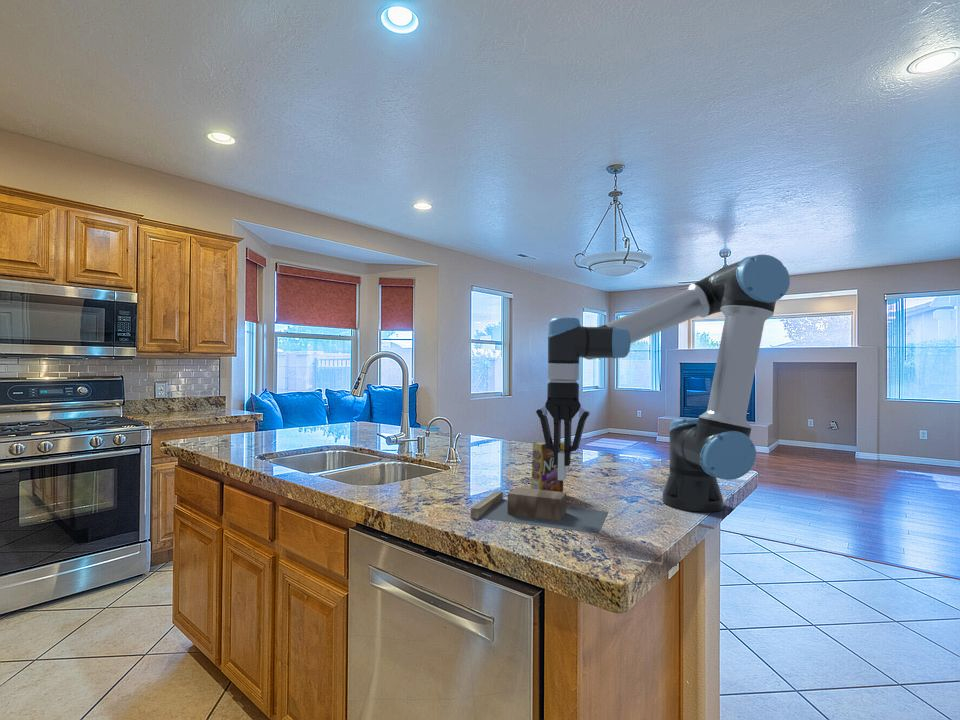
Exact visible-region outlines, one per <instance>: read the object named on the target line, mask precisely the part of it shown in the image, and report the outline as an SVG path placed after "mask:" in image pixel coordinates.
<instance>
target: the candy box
mask: <svg viewBox="0 0 960 720" xmlns="http://www.w3.org/2000/svg"><path fill="white" fill-rule="evenodd" d="M552 441H553V444H554V440H552ZM560 448H561V450H560V451H564V441H561V447H560ZM531 459H532V461H531V462H532V463H531V479H530V481H531V482H530V484H531V486H530V487H531V488H530V489H538V490H547V491H557V492H564V481H562V480H558V465H554V452H553V451H552V450H550V449H547V448H546V443H545V441H539V442H538V441H536V442H532V458H531Z"/></svg>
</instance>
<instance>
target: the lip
mask: <svg viewBox="0 0 960 720" xmlns="http://www.w3.org/2000/svg"><path fill="white" fill-rule="evenodd" d="M502 499H504V491H502V490H495V491H493V492H492V493H491V494H489V495H487V496H486V497H485V498H483V499H482V500H481V501H479V502H477V503H476V504H474V505H473V506H471V507H470V519H474V520H475V519H476V520H479V519H478V517H480V516H481V515H482V514H484V513H485V512H486V511H488V510H489V509H490V508H492V507H493V506H494V505H495V504H497V503H498V502H499V501H501V500H502Z"/></svg>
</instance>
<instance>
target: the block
mask: <svg viewBox="0 0 960 720" xmlns="http://www.w3.org/2000/svg"><path fill="white" fill-rule="evenodd" d="M507 500H508V511H507V514H511V515H519V516H527V517H534V518H542V519H550V520H557V521H560V520H561V519H562V518H563V516H564V515H565V514H566V507H567V492H564V491H563V492H557V491H547V490H538V489H531V488H528V487H518V486H516V487H514V488H513V489H512V490H511V491H509V492H507Z"/></svg>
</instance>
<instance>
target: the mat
mask: <svg viewBox="0 0 960 720" xmlns="http://www.w3.org/2000/svg"><path fill="white" fill-rule="evenodd" d="M507 511H508V498H503V499H502V500H501V501H499V502H498V503H497V504H495V505H494V506H493V507H492V508H490V509H489V510H488V511H486V512H485V513H484V514H482V515H481V516H480V517H478V519H477V520H482V519H486V520H494V521H501V522H509V523H514V524H521V525H522V524H523V525H529V526H537V527H542V528H543V527H545V528H552V529H558V530H567V531H572V532H573V531H575V532H581V533H589V534H593V535H594V534H595V535H598V534H599V533H600V532H601V529H602V527H603V525H604V523H605V520H606V518H607V515H608V513H609V511H606V510H599V509H591V508H590V509H589V508H582V507H581V508H580V507H574V506H573V507H572V506H566V514H565V515H564V516H563V518H562V519H561V520H560V521H557V520H550V519H542V518H534V517H527V516H519V515H511V514H507Z"/></svg>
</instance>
